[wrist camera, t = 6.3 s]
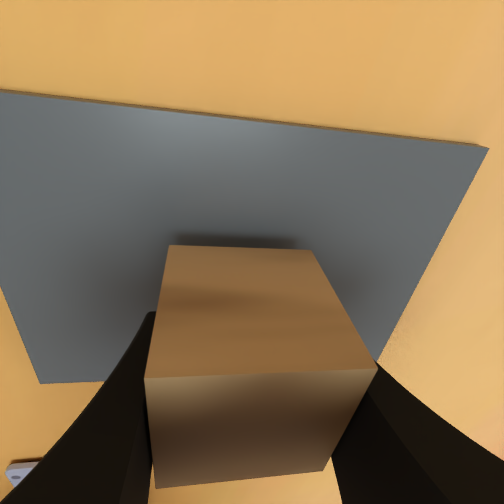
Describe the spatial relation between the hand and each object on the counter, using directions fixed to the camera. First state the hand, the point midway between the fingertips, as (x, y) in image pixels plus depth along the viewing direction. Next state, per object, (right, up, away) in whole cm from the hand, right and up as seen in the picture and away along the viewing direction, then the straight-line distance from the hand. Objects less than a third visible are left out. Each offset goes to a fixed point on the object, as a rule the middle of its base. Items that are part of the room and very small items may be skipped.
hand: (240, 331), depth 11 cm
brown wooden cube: (0, +1, +1) cm, 1 cm away
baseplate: (0, +2, +3) cm, 3 cm away
